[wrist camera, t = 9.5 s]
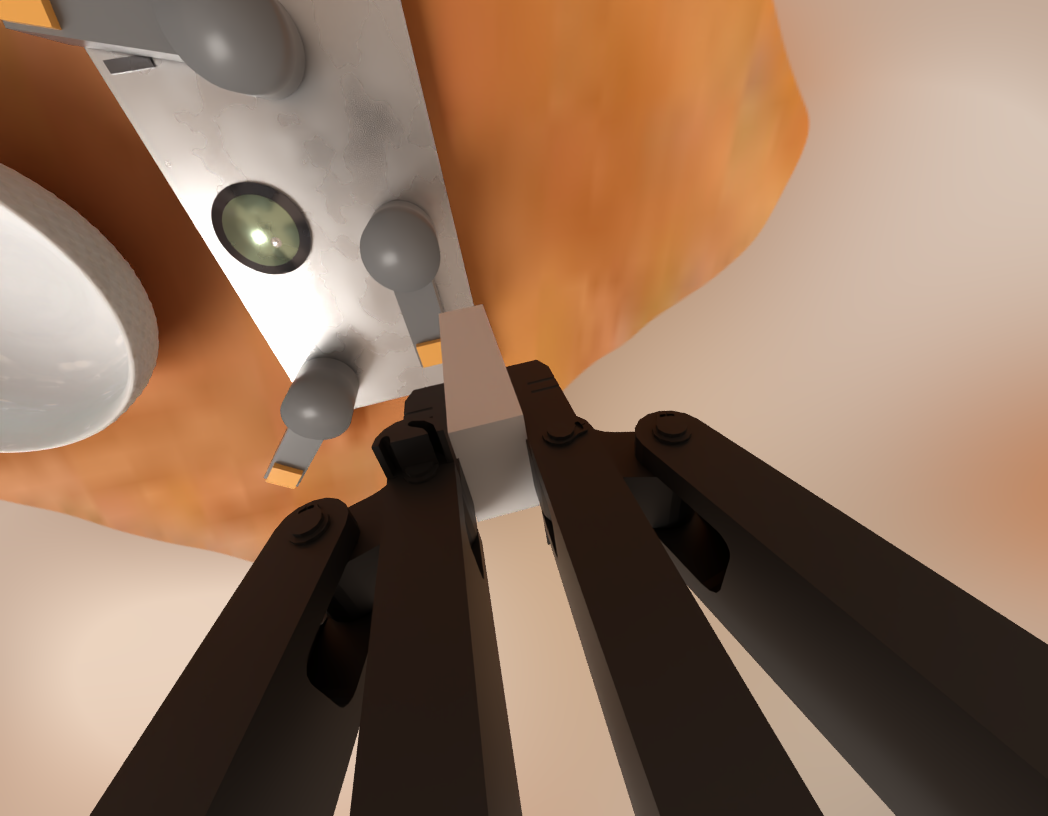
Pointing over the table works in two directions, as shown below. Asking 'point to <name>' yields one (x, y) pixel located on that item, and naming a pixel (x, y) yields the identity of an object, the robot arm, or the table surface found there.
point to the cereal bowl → (65, 323)
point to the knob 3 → (407, 270)
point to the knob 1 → (180, 36)
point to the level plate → (307, 185)
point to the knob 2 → (312, 416)
